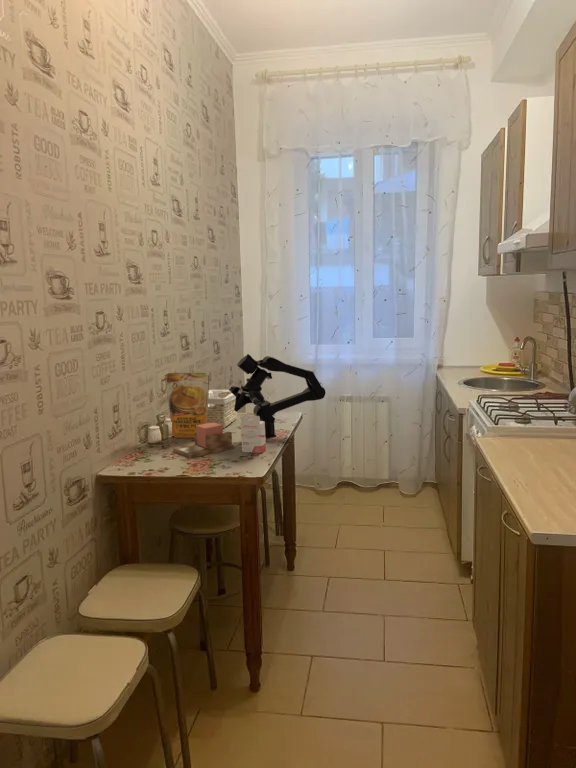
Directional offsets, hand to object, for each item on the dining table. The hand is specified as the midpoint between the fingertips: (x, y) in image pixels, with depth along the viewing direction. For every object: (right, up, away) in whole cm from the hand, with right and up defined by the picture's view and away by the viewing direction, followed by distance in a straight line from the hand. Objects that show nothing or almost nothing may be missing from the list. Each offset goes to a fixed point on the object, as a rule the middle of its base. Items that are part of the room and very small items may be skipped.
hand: (235, 410), depth 245 cm
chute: (-12, -15, -8) cm, 21 cm away
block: (-9, -13, -6) cm, 18 cm away
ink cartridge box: (+9, -15, -12) cm, 22 cm away
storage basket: (-12, -8, +37) cm, 40 cm away
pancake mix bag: (-21, -12, +14) cm, 28 cm away
